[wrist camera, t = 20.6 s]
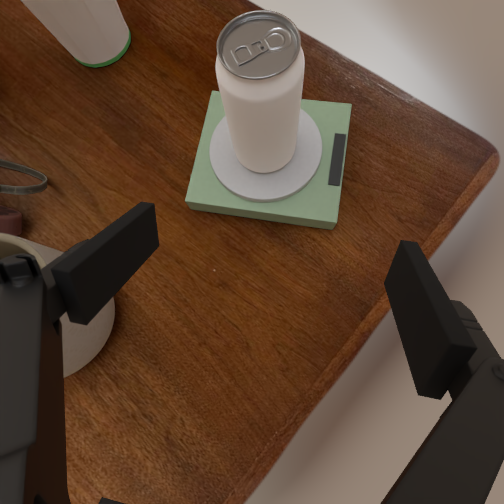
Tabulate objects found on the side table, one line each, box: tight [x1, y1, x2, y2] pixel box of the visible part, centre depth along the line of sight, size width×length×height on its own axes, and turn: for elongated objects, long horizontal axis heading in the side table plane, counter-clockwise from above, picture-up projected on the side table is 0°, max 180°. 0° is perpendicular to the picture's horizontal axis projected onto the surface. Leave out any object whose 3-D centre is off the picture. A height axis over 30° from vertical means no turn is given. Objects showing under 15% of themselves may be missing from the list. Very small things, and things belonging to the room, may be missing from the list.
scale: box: [185, 91, 352, 230], centre depth 33 cm, size 16×14×3 cm
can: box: [216, 10, 305, 173], centre depth 25 cm, size 6×6×12 cm
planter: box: [0, 233, 115, 378], centre depth 26 cm, size 12×12×11 cm
